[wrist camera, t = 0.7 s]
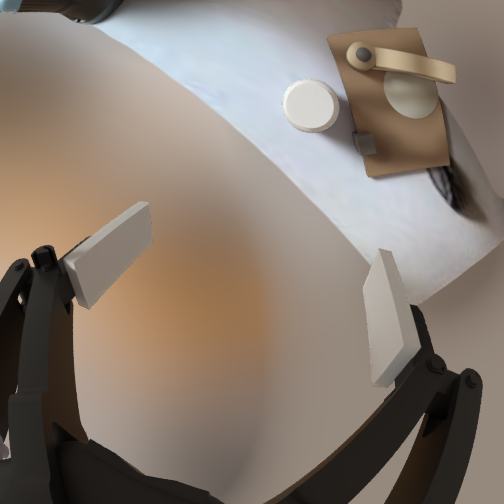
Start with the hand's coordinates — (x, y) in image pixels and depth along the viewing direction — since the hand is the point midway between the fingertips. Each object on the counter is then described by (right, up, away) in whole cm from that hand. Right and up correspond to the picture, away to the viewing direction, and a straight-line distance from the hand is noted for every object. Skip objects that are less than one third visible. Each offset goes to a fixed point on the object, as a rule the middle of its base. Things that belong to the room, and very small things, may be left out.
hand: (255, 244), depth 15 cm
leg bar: (+18, +23, +9) cm, 31 cm away
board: (+19, +20, +13) cm, 30 cm away
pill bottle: (+8, +19, +17) cm, 27 cm away
